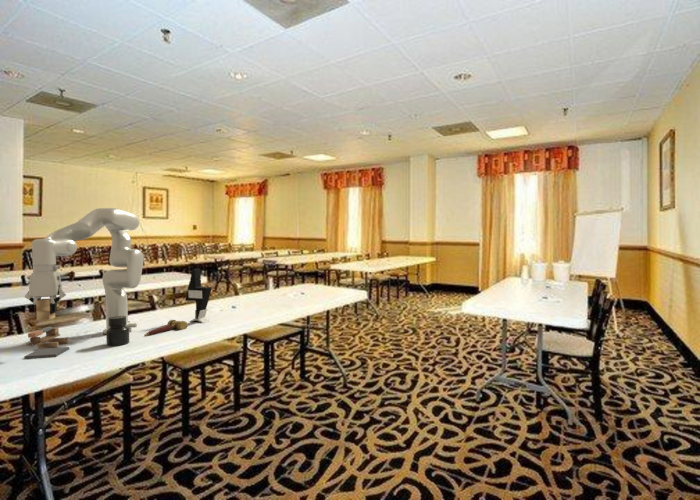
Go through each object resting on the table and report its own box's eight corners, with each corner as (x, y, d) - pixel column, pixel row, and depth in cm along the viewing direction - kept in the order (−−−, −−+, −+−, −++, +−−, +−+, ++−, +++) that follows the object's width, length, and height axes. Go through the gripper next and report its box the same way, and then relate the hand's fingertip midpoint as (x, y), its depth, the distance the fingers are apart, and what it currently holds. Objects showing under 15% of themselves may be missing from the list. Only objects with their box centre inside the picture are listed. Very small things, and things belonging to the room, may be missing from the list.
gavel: (150, 331, 186) (137, 329, 191) (151, 341, 187) (138, 338, 191) (187, 320, 205) (174, 318, 209) (188, 328, 205) (175, 327, 210)
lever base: (59, 335, 193) (59, 327, 193) (39, 344, 175) (38, 336, 175) (48, 335, 192) (48, 327, 192) (26, 345, 174) (26, 336, 174)
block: (55, 317, 163) (54, 298, 163) (49, 319, 159) (48, 299, 159) (42, 318, 162) (42, 298, 162) (36, 320, 158) (36, 300, 158)
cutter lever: (53, 329, 189) (53, 325, 189) (35, 337, 174) (35, 333, 174) (46, 329, 188) (46, 326, 188) (28, 337, 174) (28, 333, 174)
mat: (69, 349, 168) (69, 346, 168) (55, 356, 157) (55, 354, 157) (40, 351, 165) (39, 348, 165) (24, 358, 155) (24, 356, 155)
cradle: (67, 342, 178) (67, 337, 178) (56, 348, 169) (56, 342, 169) (50, 343, 177) (50, 338, 177) (38, 349, 168) (38, 343, 167)
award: (185, 321, 222) (184, 268, 221) (192, 319, 227) (190, 268, 226) (206, 323, 216) (205, 269, 216) (212, 321, 221) (211, 268, 220)
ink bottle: (132, 340, 181) (131, 314, 181) (128, 345, 173) (127, 318, 173) (108, 342, 178) (107, 316, 178) (103, 347, 170) (102, 320, 170)
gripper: (72, 268, 165) (73, 310, 166) (26, 269, 162) (27, 312, 162) (63, 269, 158) (64, 314, 159) (15, 270, 155) (16, 316, 155)
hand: (46, 313), depth 160 cm, fingers closed on block, 4 cm apart
